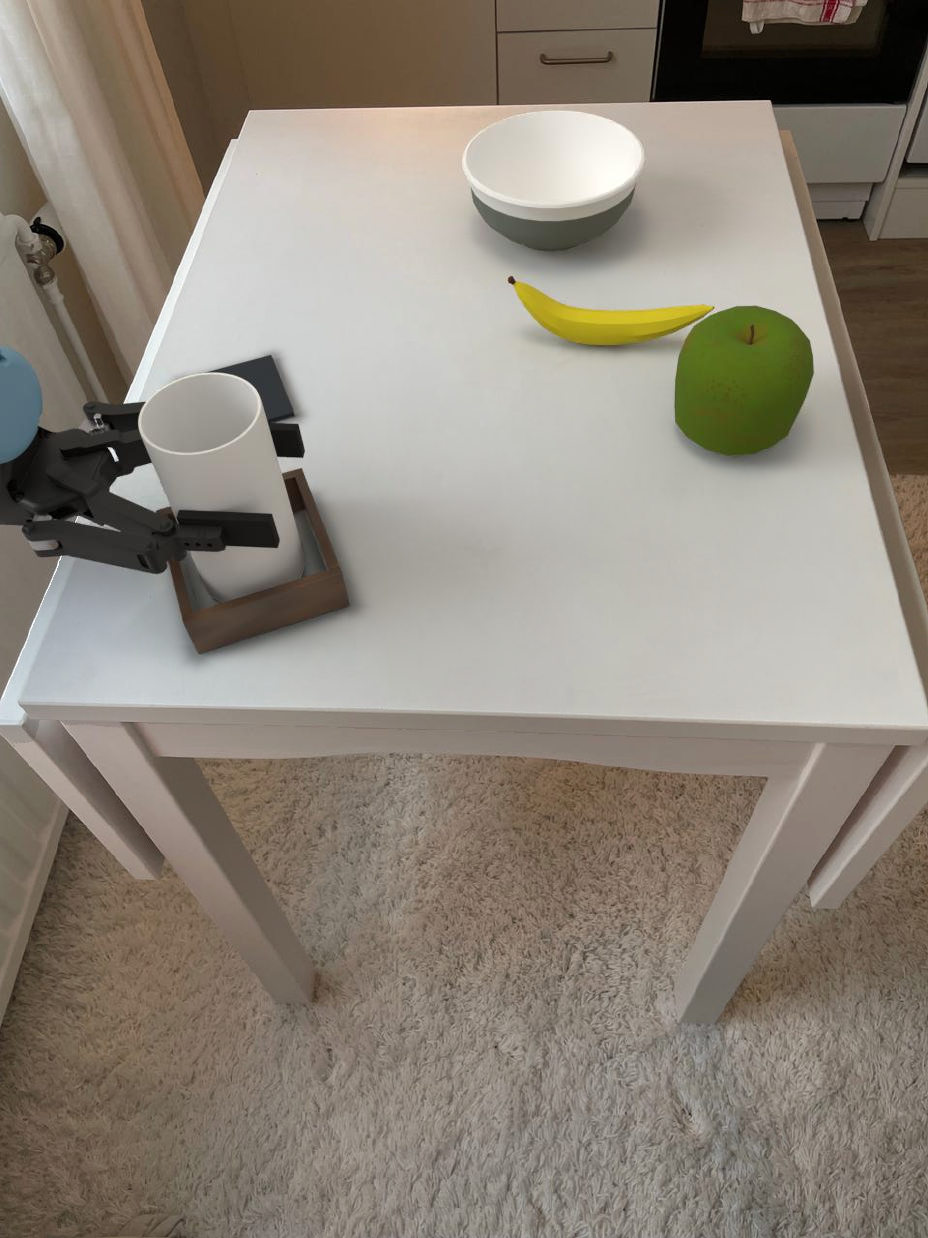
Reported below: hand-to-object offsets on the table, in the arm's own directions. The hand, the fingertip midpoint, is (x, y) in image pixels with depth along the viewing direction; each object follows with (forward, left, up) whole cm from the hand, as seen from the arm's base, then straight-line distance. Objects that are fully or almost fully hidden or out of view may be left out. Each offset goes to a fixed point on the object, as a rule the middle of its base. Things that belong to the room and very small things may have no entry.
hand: (288, 484), depth 68 cm
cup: (-4, +2, -10) cm, 11 cm away
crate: (-4, +2, -10) cm, 12 cm away
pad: (-1, +24, -11) cm, 26 cm away
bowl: (+37, +37, -11) cm, 53 cm away
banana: (+34, +17, -11) cm, 39 cm away
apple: (+39, +2, -11) cm, 40 cm away
